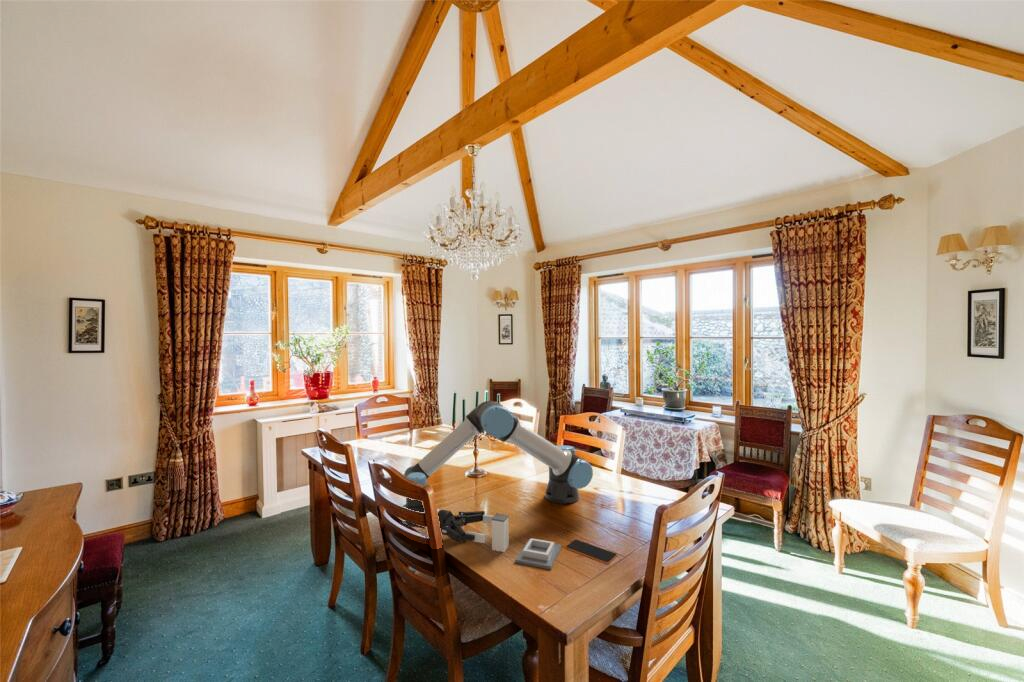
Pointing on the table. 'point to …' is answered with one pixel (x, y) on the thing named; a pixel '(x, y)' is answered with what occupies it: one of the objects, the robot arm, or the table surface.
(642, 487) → the table surface
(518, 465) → the table surface
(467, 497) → the table surface
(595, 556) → the smartphone
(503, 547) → the block
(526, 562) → the dock
